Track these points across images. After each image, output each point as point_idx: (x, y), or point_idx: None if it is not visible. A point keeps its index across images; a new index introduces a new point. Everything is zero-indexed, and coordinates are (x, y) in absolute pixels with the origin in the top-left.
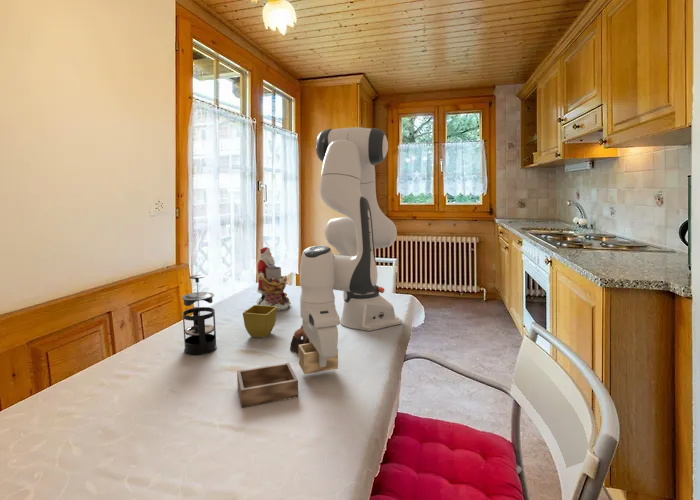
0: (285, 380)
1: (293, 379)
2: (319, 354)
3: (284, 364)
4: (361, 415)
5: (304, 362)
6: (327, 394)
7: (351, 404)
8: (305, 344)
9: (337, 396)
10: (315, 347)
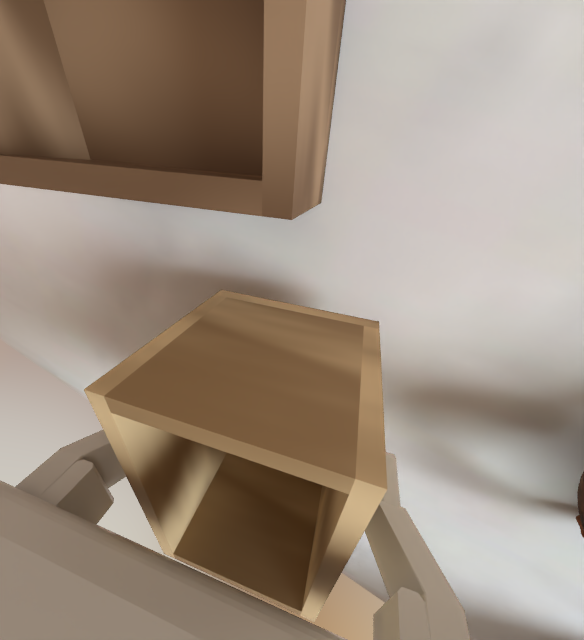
0: (255, 148)
1: (21, 156)
2: (69, 463)
3: (268, 147)
4: (16, 331)
5: (162, 334)
6: (120, 309)
7: (64, 339)
8: (341, 528)
9: (107, 330)
10: (11, 530)
